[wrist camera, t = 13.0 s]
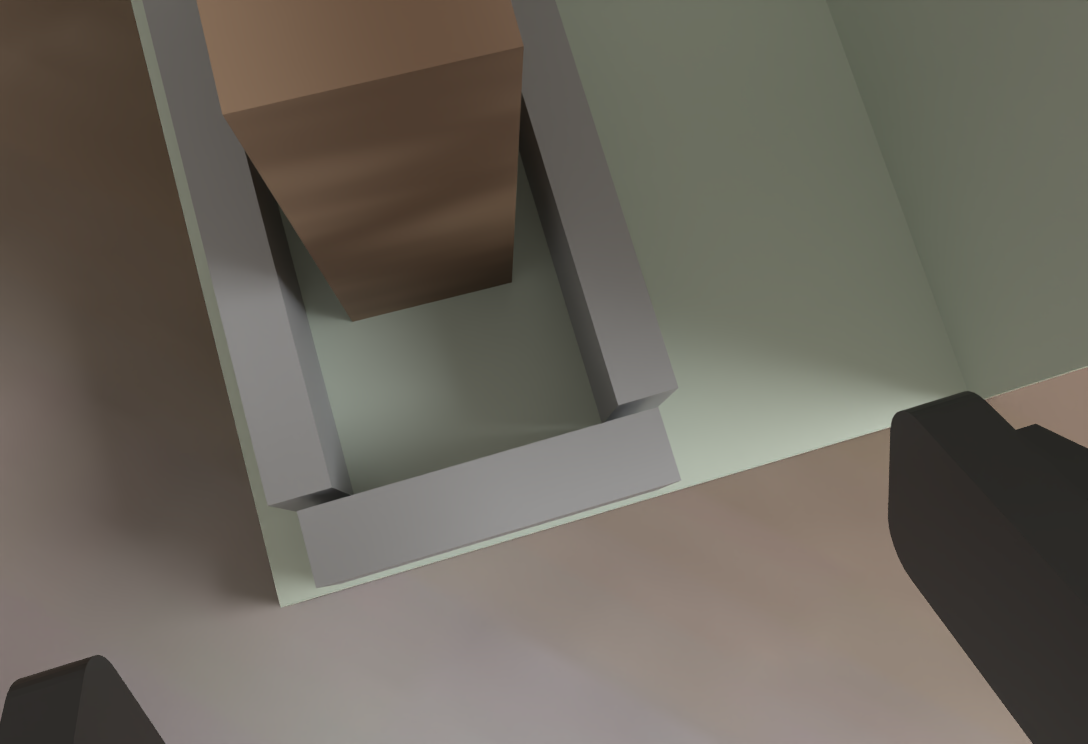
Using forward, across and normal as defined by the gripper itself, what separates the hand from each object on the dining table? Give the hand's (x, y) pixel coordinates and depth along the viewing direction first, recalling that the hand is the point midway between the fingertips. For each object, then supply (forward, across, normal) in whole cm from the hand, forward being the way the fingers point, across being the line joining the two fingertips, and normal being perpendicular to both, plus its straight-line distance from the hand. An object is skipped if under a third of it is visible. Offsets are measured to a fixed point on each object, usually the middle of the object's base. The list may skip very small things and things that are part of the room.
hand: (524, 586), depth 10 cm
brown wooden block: (+11, 0, 0) cm, 11 cm away
